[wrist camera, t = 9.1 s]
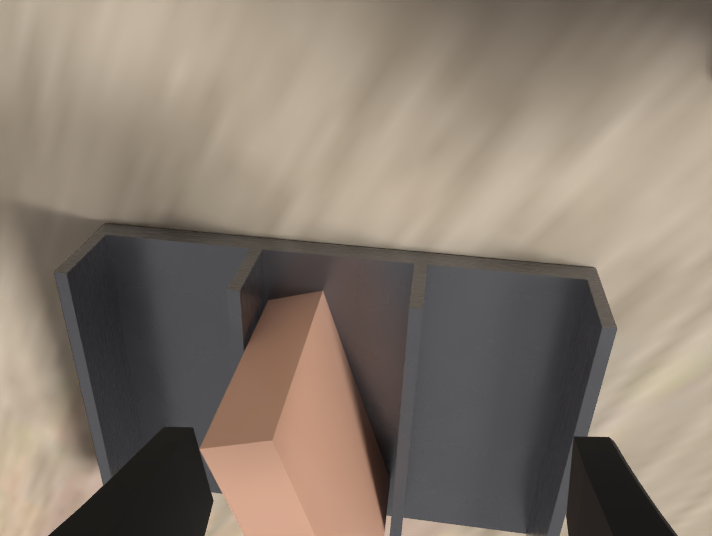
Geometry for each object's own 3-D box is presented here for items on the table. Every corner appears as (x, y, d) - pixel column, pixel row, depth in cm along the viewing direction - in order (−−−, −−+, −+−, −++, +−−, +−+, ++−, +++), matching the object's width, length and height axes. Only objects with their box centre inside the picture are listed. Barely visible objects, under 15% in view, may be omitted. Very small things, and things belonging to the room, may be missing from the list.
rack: (595, 268, 21) (617, 328, 19) (534, 518, 27) (543, 594, 25) (105, 223, 23) (54, 272, 20) (149, 468, 29) (114, 533, 26)
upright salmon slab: (322, 290, 22) (272, 440, 16) (390, 479, 26) (369, 656, 20) (268, 300, 23) (199, 449, 17) (342, 484, 27) (308, 658, 21)
